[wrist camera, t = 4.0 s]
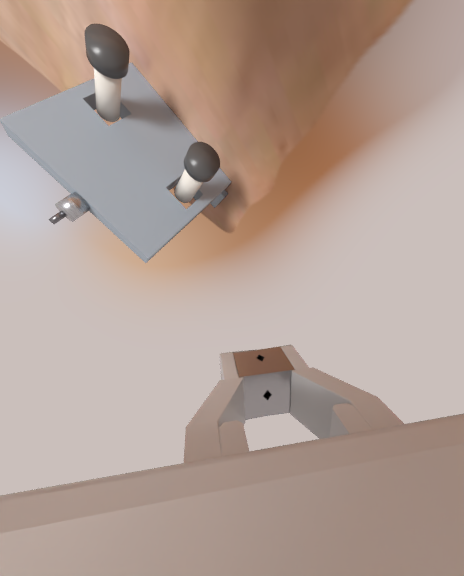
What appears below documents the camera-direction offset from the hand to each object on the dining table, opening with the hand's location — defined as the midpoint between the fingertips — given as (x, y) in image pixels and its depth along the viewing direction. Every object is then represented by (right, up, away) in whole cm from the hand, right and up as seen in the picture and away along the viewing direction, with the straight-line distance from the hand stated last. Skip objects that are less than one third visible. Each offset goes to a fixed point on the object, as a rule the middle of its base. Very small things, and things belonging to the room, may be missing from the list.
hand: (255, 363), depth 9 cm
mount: (-11, +31, +35) cm, 48 cm away
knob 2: (-6, +22, +27) cm, 35 cm away
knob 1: (-17, +33, +23) cm, 43 cm away
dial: (-22, +16, +23) cm, 36 cm away
